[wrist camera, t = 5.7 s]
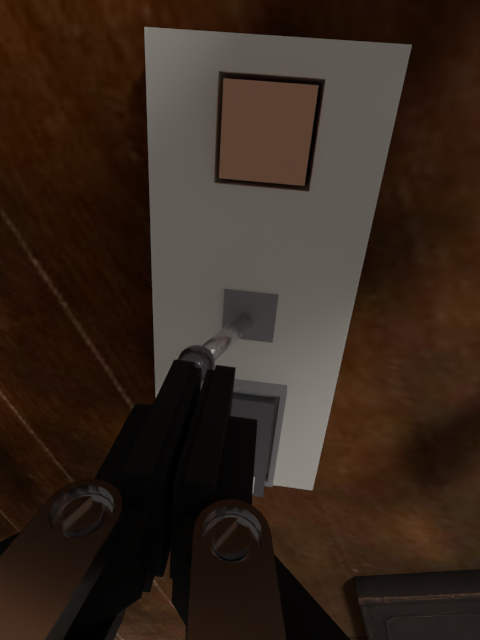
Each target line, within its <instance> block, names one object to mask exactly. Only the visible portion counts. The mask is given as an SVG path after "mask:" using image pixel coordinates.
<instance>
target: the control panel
mask: <svg viewBox="0 0 480 640" xmlns="http://www.w3.org/2000/svg"><path fill="white" fill-rule="evenodd" d="M144 31H145V65H146V98H147V131H148V164H149V197H150V231H151V264H152V297H153V330H154V363H155V397H157V395H158V393H159V390H160V388H161V386H162V384H163V382H164V380H165V378H166V376H167V374H168V371H169V369H170V367H171V365H172V363H173V361H174V360H175V359H177V360H178V357H179V355H180V353H181V352H182V351H183V350H184V349H185V348H187V347H189V346H192V345H201V346H202V345H203V344H204V343H206V342H207V341H208V340H209V339H211V338H212V337H213V336H214V335H215V334H217V333H218V332H219V331H220V330H221V329H223V328H224V327H225V326H226V325H228V324H229V323H230V322H231V321H232V320H234V319H235V318H236V317H237V316H238V315H240V314H241V313H244V312H247V313H250V314H251V315H252V316H253V318H254V323H253V325H252V327H251V328H249V329H248V330H247V331H246V332H245V333H244V334H243V335H242V336H241V337H240V338H239V339H238V340H237V341H236V342H234V343H233V344H232V345H231V346H230V347H229V348H228V349H227V350H226V351H225V352H224V353H223V354H222V355H221V356H219V357H218V358H217V359H216V360H215V366H216V365H221V366H229V367H236V371H235V380H234V389H233V392H234V393H242V394H250V395H258V396H266V397H274V398H275V406H274V414H273V422H272V430H271V438H270V446H269V454H268V462H267V469H266V477H265V485H264V486H269V487H272V486H273V485H277V486H284V487H292V488H299V489H306V490H313V486H314V481H315V477H316V472H317V468H318V463H319V459H320V454H321V450H322V446H323V441H324V437H325V432H326V428H327V423H328V419H329V414H330V410H331V405H332V401H333V396H334V392H335V387H336V383H337V378H338V374H339V369H340V365H341V360H342V356H343V351H344V347H345V343H346V338H347V334H348V329H349V325H350V320H351V316H352V311H353V307H354V302H355V298H356V293H357V289H358V284H359V280H360V275H361V271H362V266H363V262H364V257H365V253H366V248H367V244H368V240H369V235H370V231H371V226H372V222H373V217H374V213H375V208H376V204H377V199H378V195H379V190H380V186H381V181H382V177H383V172H384V168H385V163H386V159H387V154H388V150H389V145H390V141H391V137H392V132H393V128H394V123H395V119H396V114H397V110H398V105H399V101H400V96H401V92H402V87H403V83H404V78H405V74H406V69H407V65H408V60H409V56H410V51H411V47H412V45H409V44H394V43H379V42H364V41H348V40H333V39H318V38H303V37H288V36H273V35H258V34H243V33H228V32H213V31H198V30H183V29H168V28H153V27H144ZM223 78H227V79H241V80H254V81H268V82H281V83H295V84H308V85H321V86H320V93H319V100H318V107H317V114H316V121H315V128H314V135H313V142H312V150H311V157H310V164H309V171H308V178H307V184H305V186H300V185H289V184H278V183H267V182H256V181H245V180H233V179H222V178H219V165H220V143H221V121H222V99H223ZM214 370H215V368H214ZM203 382H204V381H203ZM203 382H201V388H202V385H203Z"/></svg>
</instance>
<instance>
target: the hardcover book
mask: <svg viewBox="0 0 480 640" xmlns="http://www.w3.org/2000/svg"><path fill="white" fill-rule="evenodd" d="M354 578H355V585H356V591H357V596H358V601H359V605H360V609H361V613H362V617H363V621H364V625H365V629H366V633H367V637H368V640H480V570H462V571H445V572H427V573H410V574H392V575H375V576H357V577H354Z"/></svg>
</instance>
